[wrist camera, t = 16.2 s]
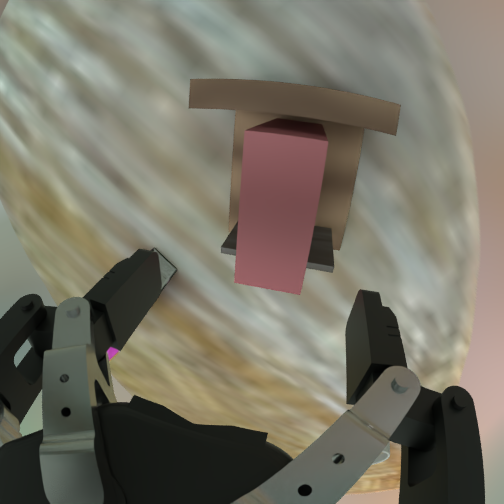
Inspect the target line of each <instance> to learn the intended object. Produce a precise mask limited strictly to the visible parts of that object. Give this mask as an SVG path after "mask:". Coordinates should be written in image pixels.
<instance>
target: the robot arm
mask: <svg viewBox="0 0 504 504" xmlns="http://www.w3.org/2000/svg"><path fill="white" fill-rule="evenodd" d="M161 288H162V280H161V272H160V263H159V255H158V253H157V252H154V251H149V250H144V249H138V250H137V251H136V252H135V253H134V254H133V255H132V256H131V257H130V258H126V259H124V260H123V261H121V262H119V263H117V264H116V265H115V266H114V267H113V268H112V269H111V270H110V271H109V272H108V273H107V274H106V275H105V276H104V278H102V279H101V280H100V281H99V282H98V283H97V284H96V285H95V286H94V287H93V288H92V289H91V290H90V291H89V292H88V293H87V294H86V295H85V296H84V297H83V298H82V297H72V298H69V299H66V300H65V301H63V302H62V303H60V305H59V306H58V307H51V306H44V304H43V301H42V299H41V297H40V296H39V295H37V294H29V295H25V296H23V297H22V298H20V299H19V300H18V301H17V302H16V303H15V304H14V305H13V306H12V307H11V308H10V309H9V310H8V311H7V312H6V313H5V314H4V316H3V317H2V318H1V319H0V504H336V503H337V502H338V501H339V500H340V499H341V497H343V496H344V495H345V494H346V493H347V491H348V490H349V489H350V488H351V487H352V486H353V485H354V484H355V483H356V482H357V481H358V480H359V478H360V477H361V476H362V475H363V474H364V473H365V472H366V470H367V469H368V468H369V467H370V466H371V465H372V463H373V462H374V461H375V460H376V458H377V457H378V456H379V455H380V453H381V452H382V451H383V450H384V448H385V447H386V446H387V444H388V443H389V441H392V442H395V443H398V444H401V478H400V494H399V504H485V487H484V469H483V459H482V449H481V443H480V435H479V428H478V422H477V417H476V411H475V406H474V402H473V399H472V397H471V395H470V394H469V393H468V392H467V391H466V390H465V389H463V388H461V387H459V386H450V387H448V388H446V389H445V390H444V391H443V393H442V394H441V393H438V392H435V391H432V390H429V389H427V388H424V387H422V386H421V385H420V381H419V379H418V377H417V376H416V374H415V373H414V372H412V371H411V370H410V369H408V368H407V363H406V358H405V353H404V349H403V344H402V339H401V338H400V336H401V335H400V331H399V329H398V328H399V327H398V322H397V318H396V316H395V315H394V313H393V312H392V311H391V309H390V308H389V307H384V306H382V302H381V298H380V294H379V292H374V291H367V290H361V289H360V290H359V291H358V294H357V296H356V299H355V302H354V305H353V308H352V310H351V313H350V316H349V318H348V321H347V326H346V334H345V336H346V372H347V402H346V404H352V405H354V406H353V407H352V408H351V409H350V410H347V411H346V412H345V413H344V414H343V415H342V416H341V417H340V418H339V419H338V420H337V421H336V422H335V423H334V424H333V425H332V426H330V427H329V428H328V429H327V430H326V431H325V432H324V433H323V434H322V435H321V436H320V437H319V438H318V439H317V440H316V441H314V442H313V443H312V444H311V445H310V446H309V447H308V448H307V449H305V450H304V451H303V452H302V453H301V454H300V455H298V456H297V457H296V458H295V459H293V458H292V457H290V456H289V455H288V454H287V453H286V452H284V451H283V450H282V449H280V448H279V447H277V446H275V445H273V444H271V443H269V442H267V441H266V439H267V434H268V433H265V432H260V431H255V430H250V429H245V428H240V427H236V426H223V425H200V424H194V423H191V422H189V421H188V420H186V419H184V418H182V417H181V416H179V415H177V414H176V413H174V412H173V411H171V410H169V409H168V408H166V407H165V406H163V405H160V404H157V403H154V402H151V401H149V400H146V399H143V398H141V397H138V396H136V395H134V396H133V398H132V399H131V401H130V403H127V402H117V401H116V398H115V395H114V390H113V385H112V378H111V371H110V364H109V357H108V353H107V351H108V349H109V348H110V347H112V348H115V349H117V350H120V351H121V349H122V348H123V346H124V345H125V344H126V342H127V341H128V339H129V338H130V336H131V335H132V333H133V332H134V331H135V329H136V328H137V326H138V325H139V323H140V322H141V321H142V319H143V318H144V316H145V315H146V314H147V312H148V311H149V309H150V308H151V307H152V305H153V304H154V302H155V301H156V300H157V298H158V297H159V295H160V292H161ZM27 339H28V341H29V342H30V344H31V346H32V348H31V349H30V350H29V352H28V353H27V354H26V356H25V357H24V358H23V360H22V361H21V362H20V364H19V365H18V366H17V368H16V366H15V364H14V356H15V354H16V352H17V351H18V350H19V348H20V347H21V346H22V345H23V343H24V342H25V341H26V340H27ZM41 389H42V417H43V429H42V430H39V431H37V432H34V433H31V434H29V435H26V436H23V437H22V434H21V433H20V432H19V431H20V424H21V422H22V420H23V419H24V417H25V415H26V414H27V412H28V410H29V409H30V407H31V405H32V404H33V402H34V400H35V399H36V397H37V396H38V394H39V393H40V391H41Z"/></svg>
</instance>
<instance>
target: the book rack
mask: <svg viewBox="0 0 504 504" xmlns="http://www.w3.org/2000/svg"><path fill="white" fill-rule="evenodd" d="M400 106H401V105H399V104H396V103H392V102H388V101H384V100H380V99H376V98H372V97H368V96H363V95H359V94H354V93H349V92H344V91H339V90H333V89H327V88H321V87H315V86H308V85H300V84H292V83H283V82H272V81H260V80H242V79H190V95H189V108H202V109H228V110H236V114H235V128H234V143H233V159H232V175H231V193H230V212H229V232H230V234H229V235H228V237H227V239H226V240H225V242H224V243H223V245H222V246H221V253H224V254H230V255H235V256H236V247H237V231H238V216H239V201H240V186H241V172H242V158H243V145H244V132H245V130H247V129H249V128H252V127H255V126H257V125H260V124H263V123H265V122H268V121H271V120H273V119H276V118H280V119H288V120H296V121H303V122H309V123H316V124H322V125H323V128H324V131H325V133H326V136H327V139H328V148H327V155H326V161H325V167H324V174H323V180H322V186H321V192H320V198H319V203H318V209H317V214H316V220H315V225H314V230H313V236H312V241H311V246H310V251H309V256H308V261H307V265H306V268H309V269H315V270H320V271H326V272H332V273H333V269H334V257H333V250H339V251H340V247H341V243H342V239H343V235H344V231H345V226H346V222H347V217H348V213H349V208H350V204H351V199H352V194H353V189H354V184H355V179H356V174H357V169H358V163H359V158H360V152H361V146H362V140H363V134H364V128H366V129H371V130H375V131H379V132H383V133H387V134H391V135H395V136H396V132H397V126H398V120H399V113H400Z"/></svg>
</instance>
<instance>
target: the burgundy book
mask: <svg viewBox="0 0 504 504" xmlns="http://www.w3.org/2000/svg"><path fill="white" fill-rule="evenodd" d="M327 148H328V139H327V136H326V133H325V131H324V128H323V125H322V124H316V123H309V122H303V121H296V120H288V119H280V118H276V119H273V120H271V121H268V122H265V123H263V124H260V125H257V126H255V127H252V128H249V129H247V130H245V132H244V145H243V158H242V172H241V186H240V201H239V216H238V231H237V247H236V264H235V281H234V283H239V284H244V285H250V286H255V287H260V288H266V289H271V290H276V291H282V292H287V293H293V294H299V295H300V293H301V289H302V284H303V280H304V275H305V270H306V265H307V261H308V256H309V251H310V246H311V241H312V236H313V230H314V225H315V220H316V214H317V209H318V203H319V198H320V192H321V186H322V180H323V174H324V167H325V161H326V155H327Z"/></svg>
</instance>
